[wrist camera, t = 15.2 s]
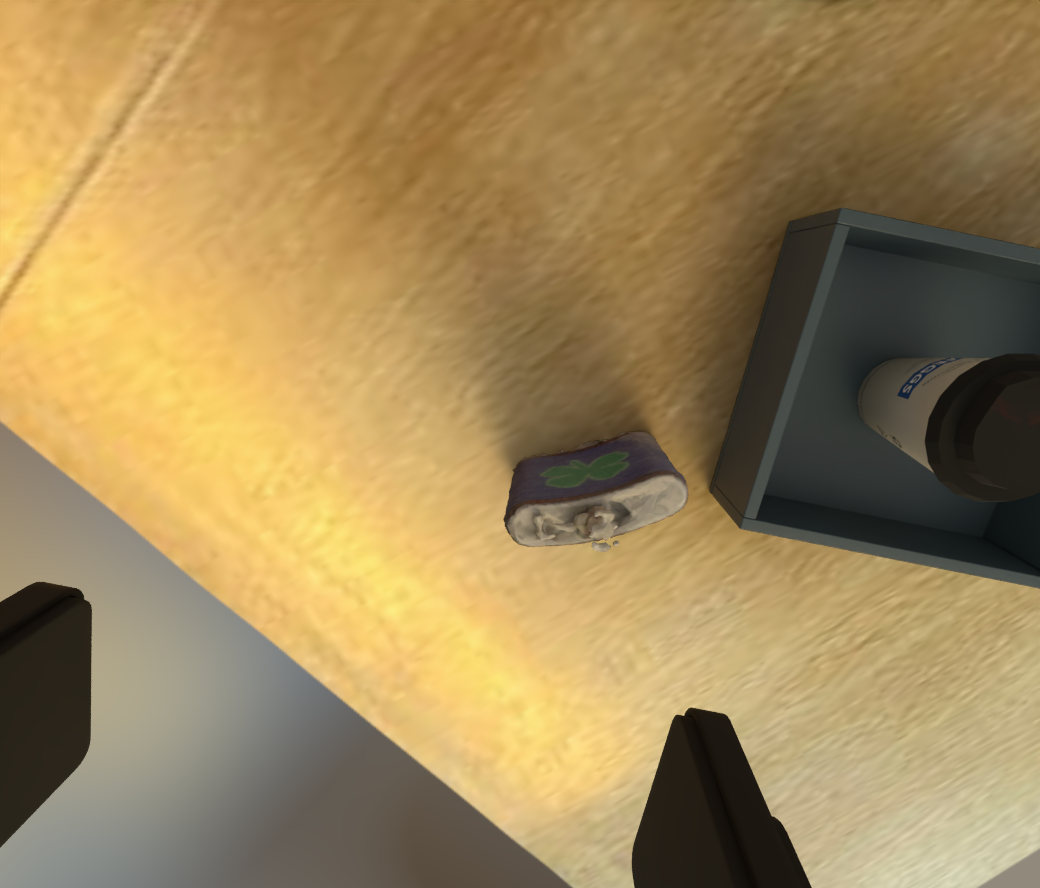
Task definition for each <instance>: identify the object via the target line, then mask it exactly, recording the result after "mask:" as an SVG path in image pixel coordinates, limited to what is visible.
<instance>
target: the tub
mask: <svg viewBox="0 0 1040 888" xmlns="http://www.w3.org/2000/svg"><path fill="white" fill-rule="evenodd" d="M1004 354H1036V355H1039V356H1040V249H1039V248H1034V247H1029V246H1025V245H1020V244H1015V243H1010V242H1005V241H1001V240H996V239H991V238H986V237H981V236H977V235H972V234H967V233H962V232H957V231H953V230H948V229H943V228H938V227H933V226H929V225H924V224H919V223H914V222H909V221H905V220H900V219H895V218H890V217H885V216H881V215H876V214H871V213H866V212H861V211H857V210H852V209H847V208H838V209H835V210H831V211H827V212H823V213H819V214H815V215H811V216H808V217H804V218H800V219H796V220H792V221H790V222H789V224H788V228H787V231H786V234H785V238H784V241H783V245H782V248H781V251H780V255H779V258H778V261H777V265H776V268H775V272H774V275H773V278H772V282H771V285H770V288H769V292H768V295H767V298H766V302H765V305H764V309H763V312H762V315H761V319H760V322H759V325H758V329H757V332H756V335H755V339H754V342H753V346H752V349H751V352H750V356H749V359H748V362H747V366H746V369H745V372H744V376H743V379H742V383H741V386H740V389H739V393H738V396H737V399H736V403H735V406H734V410H733V413H732V416H731V420H730V423H729V426H728V430H727V433H726V436H725V440H724V443H723V447H722V450H721V453H720V457H719V460H718V463H717V467H716V470H715V473H714V477H713V480H712V484H711V487H710V490H709V491H710V493H711V494H712V495H713V496H714V497H715V499H716V500H717V501H718V502H719V504H720V505H721V506H722V507H723V508H724V510H725V511H726V512H727V513H728V515H729V516H730V517H731V518H732V520H733V521H734V522H735V523H736V524H737V526H738V527H739V528H740V529H743V530H748V531H753V532H758V533H763V534H768V535H773V536H778V537H784V538H789V539H794V540H799V541H804V542H809V543H814V544H819V545H824V546H829V547H834V548H839V549H844V550H849V551H854V552H859V553H864V554H869V555H874V556H879V557H884V558H889V559H894V560H899V561H904V562H909V563H914V564H919V565H924V566H929V567H934V568H939V569H944V570H949V571H954V572H959V573H964V574H969V575H975V576H980V577H985V578H990V579H995V580H1000V581H1005V582H1010V583H1015V584H1020V585H1025V586H1030V587H1035V588H1040V492H1039V493H1037V494H1035V495H1033V496H1029V497H1025V498H1021V499H1018V500H1014V501H1007V502H977V501H974V500H971V499H968V498H965V497H962V496H959V495H956V494H955V493H953V492H952V491H951V490H950V489H948V488H947V487H946V486H944V485H943V484H942V483H941V482H939V480H938V479H937V477H936V475H935V474H934V473H933V472H932V471H930V470H929V469H928V468H926V467H925V466H924V465H922V464H921V463H919V462H918V461H917V460H915V459H914V458H912V457H911V456H910V455H908V454H907V453H905V452H904V451H903V450H901V449H900V448H898V447H897V446H896V445H894V444H893V443H891V442H890V441H889V440H887V439H886V438H884V437H883V436H882V435H880V434H879V433H877V432H876V431H875V430H873V429H872V428H871V427H870V426H868V425H867V424H866V423H865V422H864V420H863V419H862V417H861V415H860V414H859V409H858V404H857V400H858V393H859V389H860V387H861V385H862V383H863V381H864V379H865V378H866V377H867V375H868V374H869V373H870V372H871V371H872V370H873V369H874V368H876V367H877V366H879V365H880V364H882V363H883V362H885V361H889V360H892V359H895V358H994V357H998V356H1001V355H1004Z"/></svg>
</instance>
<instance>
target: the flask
mask: <svg viewBox="0 0 1040 888" xmlns="http://www.w3.org/2000/svg"><path fill="white" fill-rule="evenodd" d="M512 471H513V472H514V475H513V477H512V482H511V488H510V491H509V500H508V505H507V508H506V515H505V517H504V522H505V527H506V529H507V531H508V533H509V534H510V535H511V537H512V539H513V540H514V541H515V542H516V543H518V544H519V545H523V546H527V547H540V546H560V545H573V544H583V543H588V542H592V541H600V540H602V539H603V540H605V541H606V540H607V539H609V538H612V537H614V536H618V535H622V534H625V533H628V532H631V531H634V530H637V529H639V528H642V527H644V526H646V525H650V524H653V523H656V522H658V521H661V520H663V519H665V518H666V517H670V516H673V515H674V514H675V513H677V512H678V511H680V510H681V509H683V508H684V506H685V504H686V503H687V499H688V487H687V484H686V480H685V478H684V476H683V475H682V474H680V473H679V472H678V471H677V470H676V469H675V468H674V466H673V465H672V463H671V462H670V461H669V459H668V457H667V455H666V454H665V453H664V452H663V451H662V449H661V448H660V446H659V444H658V443H657V441H656V439H655V438H654V437H653V436H651V435H650V434H649V433H646V432H643V431H641V432H639V431H638V432H630V433H628V432H627V433H622V434H619V435H618V437H616V438H614V439H609V440H606V441H604V440H602V441H598V440H596V441H593V442H590V441H588V442H587V443H584V444H581V445H580V446H578V447H577V448H575V449H574V450H572V451H566V452H565V451H564V450H563V449H562V450H561V451H559V452H558V453H556V454H553V455H548V454H545V453H543V455H538V456H531V457H525V458H523V459H522V460H521V461H520V462H519V463H518V464H517V466H516V468H515V469H513V470H512ZM613 544H614V546H617V545H618V544H619V541H615V542H613ZM610 547H611V546H609V545H608V544H607V543H602V544H597V543H595V542H593V543H592V548H593V549H594V550H596V551H601V552H606V551H608V550H609V549H610Z"/></svg>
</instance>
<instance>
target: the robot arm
mask: <svg viewBox="0 0 1040 888" xmlns="http://www.w3.org/2000/svg"><path fill="white" fill-rule="evenodd" d="M91 631H92V609H91V604H90V603H89V602H88V601H86V600H84V595H83V593H82V592H81V591H80V590H79V589H77V588H72V587H67V586H62V585H56V584H51V583H46V582H36V583H33V584H31V585H29V586H27V587H25V588H24V589H22V590H20V591H18V592H17V593H15V594H14V595H12V596H10V597H8V598H6V599H5V600H3V601H1V602H0V847H1V846H2V845H3V844H4V843H5V842H6V841H7V840H8V839H9V838H10V837H11V836H12V835H13V834H14V833H15V832H16V831H17V830H18V829H19V828H20V827H21V825H22V824H23V823H24V822H25V821H26V820H27V819H28V818H29V817H30V816H31V815H32V814H33V813H34V812H35V811H36V810H37V809H38V808H39V807H40V806H41V805H42V804H43V803H44V802H45V801H46V799H47V798H49V796H50V795H51V794H52V793H53V792H54V791H55V790H56V789H57V788H58V787H59V786H60V785H61V784H62V783H63V782H64V781H65V780H66V779H67V778H68V777H69V776H70V775H71V774H72V773H73V772H74V771H75V769H76V768H77V767H78V766H79V765H80V764H81V762H82V761H83V759H84V757H85V755H86V753H87V751H88V748H89V745H90V736H91V735H90V734H91V733H90V732H91V635H92V634H91V633H92V632H91ZM632 873H633V880H634V886H635V888H812V887H811V885H810V883H809V881H808V878H807V876H806V874H805V872H804V869H803V867H802V865H801V863H800V861H799V858H798V856H797V854H796V852H795V849H794V847H793V845H792V843H791V840H790V838H789V836H788V834H787V832H786V830H785V828H784V827H783V825H782V823H781V822H780V821H779V820H778V819H776V818H775V817H772V816H771V814H770V812H769V809H768V807H767V805H766V802H765V800H764V798H763V795H762V793H761V791H760V788H759V786H758V784H757V781H756V779H755V777H754V775H753V772H752V770H751V768H750V765H749V763H748V761H747V758H746V756H745V754H744V751H743V749H742V747H741V744H740V742H739V740H738V737H737V735H736V733H735V731H734V728H733V726H732V724H731V721H730V719H729V718H728V716H727V715H725V714H722V713H717V712H712V711H706V710H701V709H696V708H689V709H688V710H687V711H686V713H685V715H684V716H681V715H676V716H675V717H674V719H673V721H672V724H671V727H670V730H669V733H668V736H667V740H666V743H665V746H664V749H663V752H662V756H661V759H660V762H659V765H658V768H657V772H656V775H655V778H654V781H653V784H652V788H651V791H650V794H649V797H648V800H647V803H646V807H645V810H644V813H643V816H642V819H641V823H640V826H639V829H638V832H637V835H636V839H635V842H634V846H633V852H632Z"/></svg>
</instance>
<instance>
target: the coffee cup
mask: <svg viewBox="0 0 1040 888" xmlns="http://www.w3.org/2000/svg"><path fill="white" fill-rule="evenodd" d="M857 404H858V409H859V414H860V415H861V417H862V419H863V420H864V422H865V423H866V424H867V425H868V426H870V427H871V428H872V429H873V430H875V431H876V432H877V433H879V434H880V435H882V436H883V437H884V438H886V439H887V440H889V441H890V442H891V443H893V444H894V445H896V446H897V447H898V448H900V449H901V450H903V451H904V452H905V453H907V454H908V455H910V456H911V457H912V458H914V459H915V460H917V461H918V462H919V463H921V464H922V465H924V466H925V467H926V468H928V469H929V470H930V471H932V472H933V473H934V474H935V475H936V477H937V479H938V480H939V482H941V483H942V484H943V485H944V486H946V487H947V488H948V489H950V490H951V491H952V492H953V493H955V494H956V495H959V496H962V497H965V498H968V499H971V500H974V501H977V502H1007V501H1014V500H1018V499H1021V498H1025V497H1029V496H1033V495H1035V494H1037V493H1039V492H1040V356H1039V355H1036V354H1004V355H1001V356H998V357H994V358H895V359H892V360H889V361H885V362H883V363H882V364H880V365H879V366H877V367H876V368H874V369H873V370H872V371H871V372H870V373H869V374H868V375H867V377H866V378H865V379H864V381H863V383H862V385H861V387H860V389H859V393H858V400H857Z"/></svg>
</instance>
